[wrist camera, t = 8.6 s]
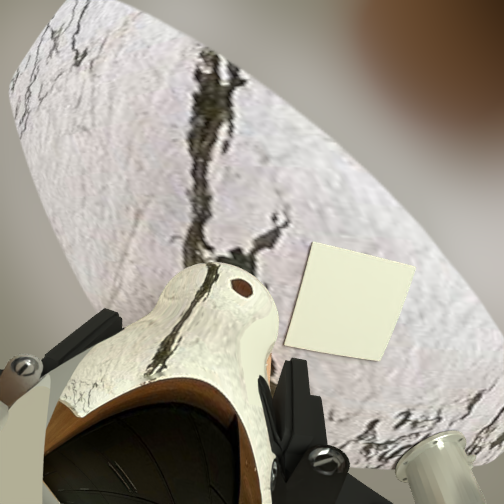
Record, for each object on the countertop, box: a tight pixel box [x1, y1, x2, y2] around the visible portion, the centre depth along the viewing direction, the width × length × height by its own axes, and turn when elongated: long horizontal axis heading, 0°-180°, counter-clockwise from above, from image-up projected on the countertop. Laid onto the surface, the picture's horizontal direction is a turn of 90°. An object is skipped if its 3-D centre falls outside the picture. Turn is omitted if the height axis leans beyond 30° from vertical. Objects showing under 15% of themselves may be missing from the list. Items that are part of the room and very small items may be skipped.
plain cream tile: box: [284, 242, 416, 361], centre depth 29 cm, size 11×11×1 cm
